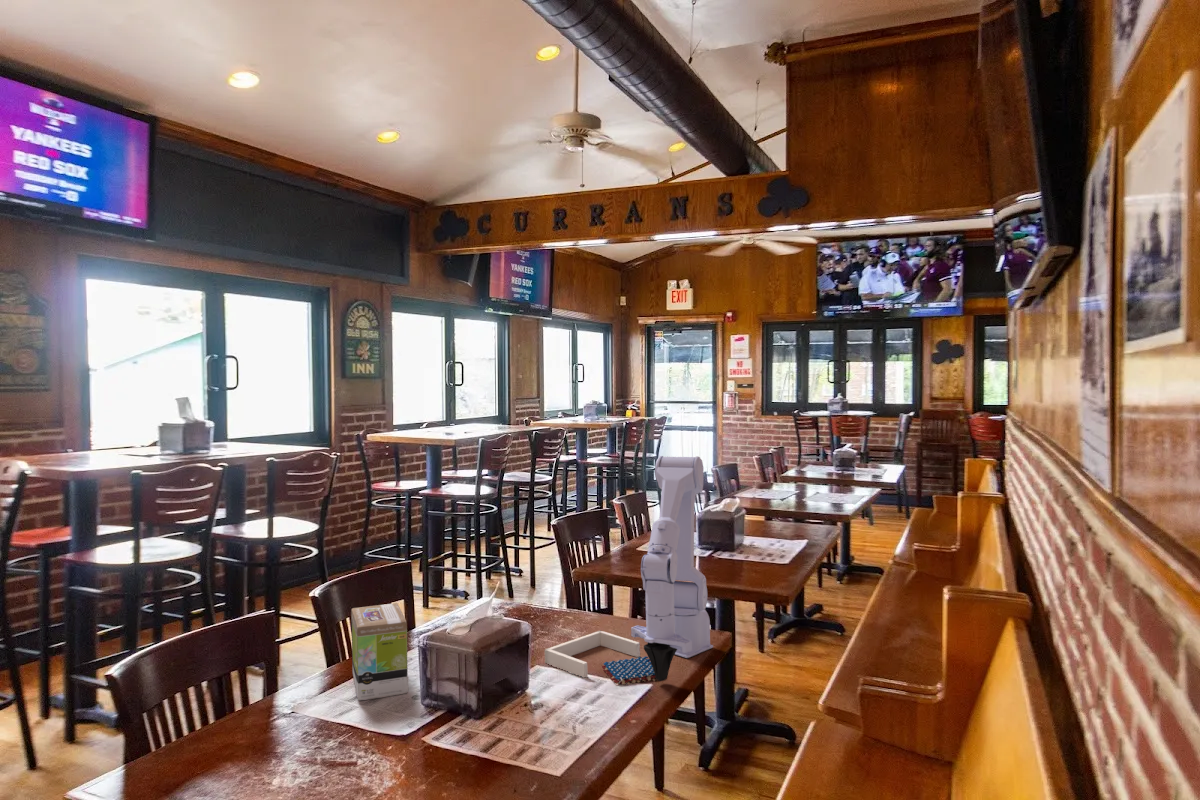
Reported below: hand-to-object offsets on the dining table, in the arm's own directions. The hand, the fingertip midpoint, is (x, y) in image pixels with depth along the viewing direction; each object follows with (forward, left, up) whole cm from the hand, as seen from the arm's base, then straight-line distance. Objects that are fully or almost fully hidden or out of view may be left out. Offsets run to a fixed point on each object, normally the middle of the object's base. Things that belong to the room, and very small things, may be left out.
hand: (661, 679), depth 157 cm
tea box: (+39, -43, -1) cm, 58 cm away
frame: (0, -20, -1) cm, 20 cm away
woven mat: (0, -8, -2) cm, 8 cm away
